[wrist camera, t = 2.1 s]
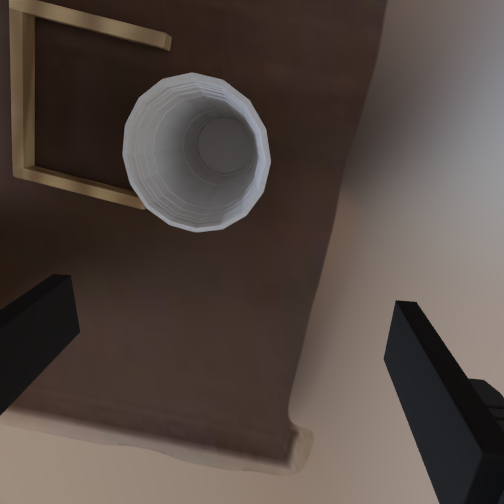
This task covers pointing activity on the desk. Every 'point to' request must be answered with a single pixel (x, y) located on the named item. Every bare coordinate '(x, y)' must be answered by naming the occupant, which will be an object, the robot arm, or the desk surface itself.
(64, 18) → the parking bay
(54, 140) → the desk surface
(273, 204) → the desk surface
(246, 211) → the plastic cup
